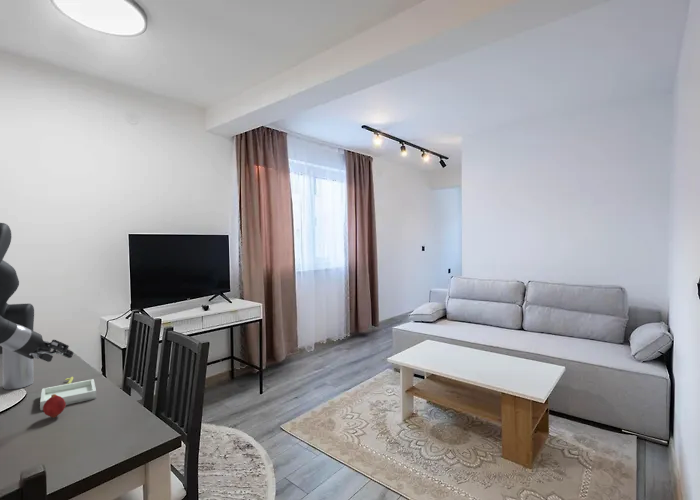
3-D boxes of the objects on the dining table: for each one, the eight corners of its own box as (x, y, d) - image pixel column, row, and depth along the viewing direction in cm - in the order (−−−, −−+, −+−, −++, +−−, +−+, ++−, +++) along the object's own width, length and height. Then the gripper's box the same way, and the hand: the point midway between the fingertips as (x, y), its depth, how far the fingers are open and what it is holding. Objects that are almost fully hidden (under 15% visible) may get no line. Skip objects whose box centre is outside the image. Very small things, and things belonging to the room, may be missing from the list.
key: (73, 380, 153) (73, 375, 153) (78, 389, 144) (78, 384, 144) (51, 385, 148) (51, 380, 148) (55, 395, 139) (55, 389, 139)
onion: (51, 413, 124) (51, 390, 123) (69, 412, 124) (69, 390, 124) (38, 421, 118) (38, 397, 118) (57, 421, 118) (57, 397, 118)
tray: (42, 396, 136) (42, 388, 136) (93, 386, 146) (93, 379, 146) (40, 410, 125) (40, 402, 125) (96, 398, 135) (96, 390, 135)
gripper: (43, 324, 117) (82, 344, 130) (6, 332, 119) (48, 350, 132) (32, 346, 113) (74, 364, 125) (-6, 353, 115) (39, 370, 127)
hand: (61, 357), depth 128 cm, fingers open, 8 cm apart
